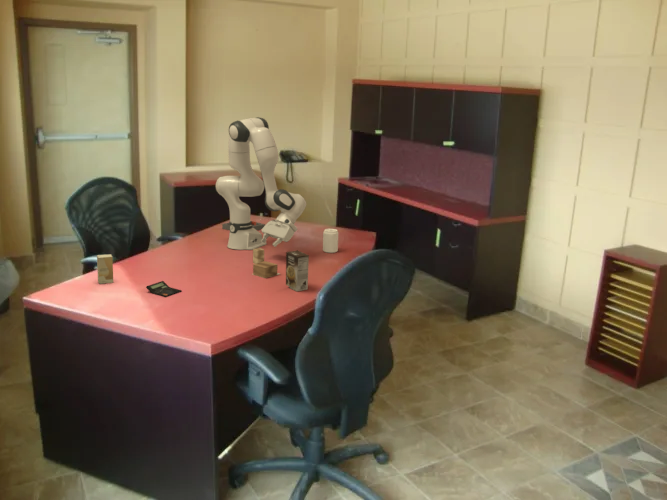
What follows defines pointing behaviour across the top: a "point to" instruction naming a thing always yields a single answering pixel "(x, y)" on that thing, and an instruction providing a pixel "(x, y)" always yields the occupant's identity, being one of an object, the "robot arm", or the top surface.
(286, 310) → the top surface
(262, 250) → the oak block
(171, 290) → the calculator
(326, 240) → the beverage can
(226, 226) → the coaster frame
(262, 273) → the walnut brick
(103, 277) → the skincare box
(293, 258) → the coffee box
